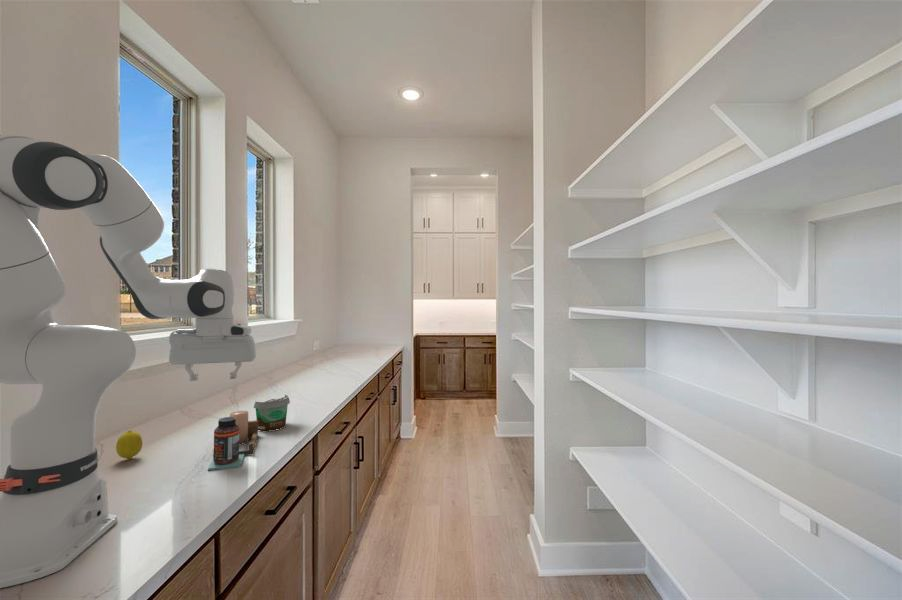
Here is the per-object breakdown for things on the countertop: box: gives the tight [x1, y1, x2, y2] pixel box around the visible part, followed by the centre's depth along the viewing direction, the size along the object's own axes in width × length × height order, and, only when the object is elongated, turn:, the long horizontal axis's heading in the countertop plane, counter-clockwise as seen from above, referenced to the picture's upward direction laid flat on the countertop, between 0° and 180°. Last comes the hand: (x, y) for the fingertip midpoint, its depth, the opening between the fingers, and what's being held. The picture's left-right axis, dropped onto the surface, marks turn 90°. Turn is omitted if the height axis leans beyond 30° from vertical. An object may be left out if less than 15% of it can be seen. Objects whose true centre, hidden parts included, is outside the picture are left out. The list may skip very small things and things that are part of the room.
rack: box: [212, 419, 259, 459], centre depth 116 cm, size 16×10×5 cm, turn 22°
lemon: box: [115, 429, 143, 460], centre depth 106 cm, size 6×6×8 cm
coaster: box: [207, 454, 245, 472], centre depth 104 cm, size 8×8×1 cm
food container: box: [253, 394, 291, 432], centre depth 133 cm, size 12×6×10 cm, turn 148°
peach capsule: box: [229, 410, 249, 445], centre depth 120 cm, size 5×5×9 cm
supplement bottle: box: [213, 416, 240, 465], centre depth 104 cm, size 6×6×11 cm
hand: (214, 379), depth 106 cm, fingers open, 8 cm apart
